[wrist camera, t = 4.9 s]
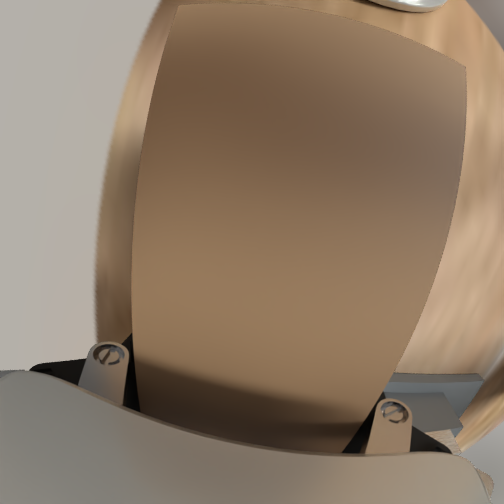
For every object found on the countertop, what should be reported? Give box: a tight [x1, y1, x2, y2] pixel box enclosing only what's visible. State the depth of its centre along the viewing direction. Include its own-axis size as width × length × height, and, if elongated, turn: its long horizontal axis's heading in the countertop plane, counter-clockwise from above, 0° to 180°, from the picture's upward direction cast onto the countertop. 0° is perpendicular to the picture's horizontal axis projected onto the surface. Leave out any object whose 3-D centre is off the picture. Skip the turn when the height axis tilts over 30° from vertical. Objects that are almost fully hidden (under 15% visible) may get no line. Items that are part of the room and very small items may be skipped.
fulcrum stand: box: [383, 373, 484, 456], centre depth 15 cm, size 14×16×8 cm
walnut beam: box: [131, 3, 467, 453], centre depth 9 cm, size 20×6×6 cm, turn 170°
